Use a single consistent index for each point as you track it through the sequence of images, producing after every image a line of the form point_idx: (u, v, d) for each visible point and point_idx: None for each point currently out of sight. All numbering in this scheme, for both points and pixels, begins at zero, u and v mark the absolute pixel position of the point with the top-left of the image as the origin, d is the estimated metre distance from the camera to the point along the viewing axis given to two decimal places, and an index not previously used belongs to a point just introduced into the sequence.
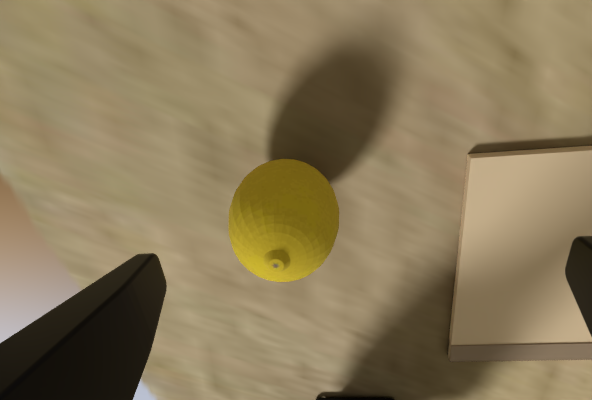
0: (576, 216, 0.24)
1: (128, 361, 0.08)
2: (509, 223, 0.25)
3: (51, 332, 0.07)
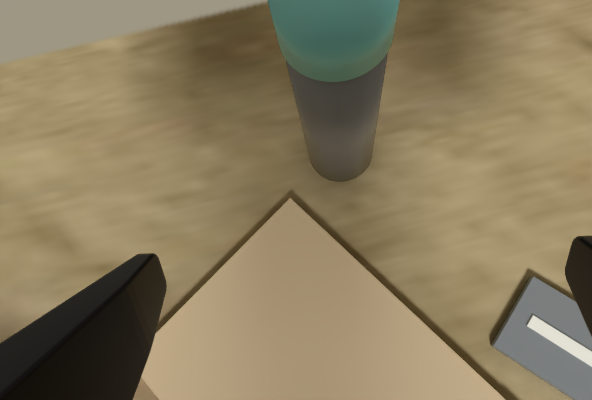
0: (266, 331, 0.21)
1: (128, 361, 0.08)
2: (219, 388, 0.21)
3: (51, 332, 0.07)
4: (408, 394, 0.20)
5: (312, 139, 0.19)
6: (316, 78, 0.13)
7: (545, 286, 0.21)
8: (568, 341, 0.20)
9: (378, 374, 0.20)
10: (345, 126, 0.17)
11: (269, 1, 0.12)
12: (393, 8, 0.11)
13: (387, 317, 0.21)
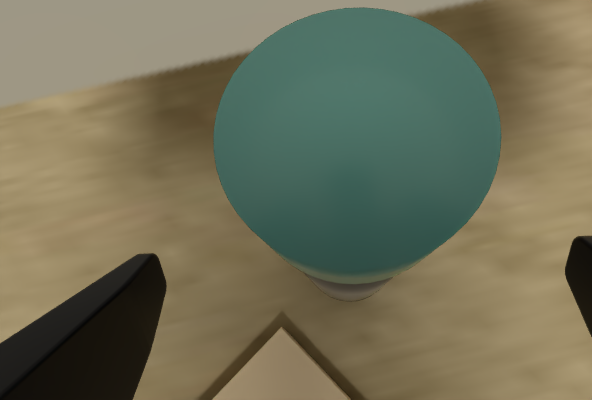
0: None
1: (128, 361, 0.08)
2: None
3: (51, 332, 0.07)
4: None
5: None
6: (318, 277, 0.07)
7: None
8: None
9: None
10: (362, 289, 0.11)
11: (220, 170, 0.06)
12: (482, 198, 0.05)
13: None
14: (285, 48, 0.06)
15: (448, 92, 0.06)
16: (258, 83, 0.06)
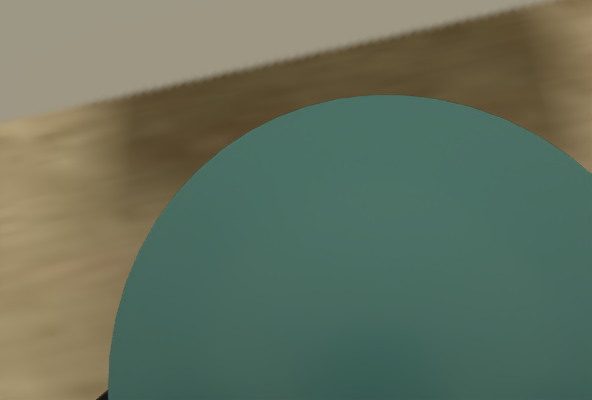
0: None
1: None
2: None
3: None
4: None
5: None
6: None
7: None
8: None
9: None
10: None
11: None
12: None
13: None
14: (254, 173, 0.03)
15: (584, 286, 0.03)
16: (199, 244, 0.03)
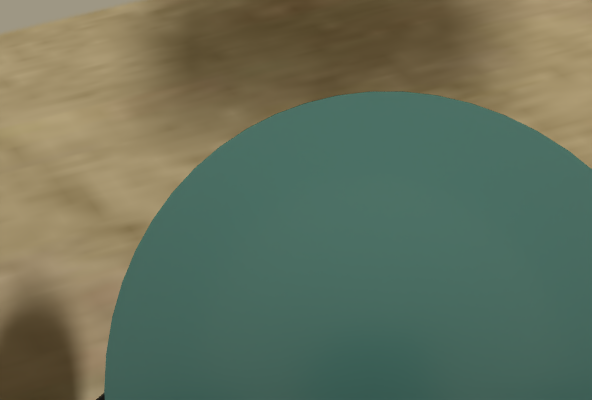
0: None
1: None
2: None
3: None
4: None
5: None
6: None
7: None
8: None
9: None
10: None
11: None
12: None
13: None
14: (252, 171, 0.03)
15: (587, 285, 0.03)
16: (198, 243, 0.03)
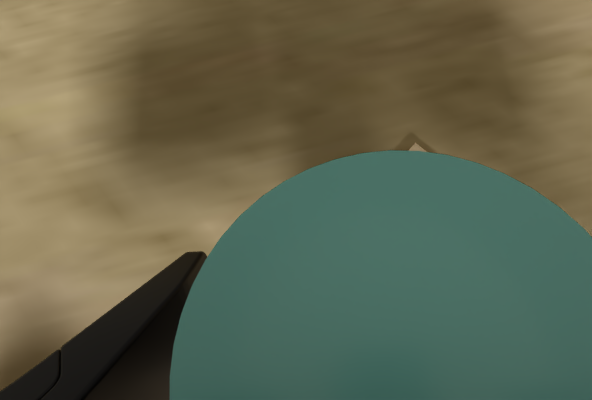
0: None
1: None
2: None
3: (118, 331, 0.07)
4: None
5: None
6: None
7: None
8: None
9: None
10: None
11: None
12: None
13: None
14: (290, 219, 0.04)
15: (571, 321, 0.03)
16: (244, 281, 0.04)
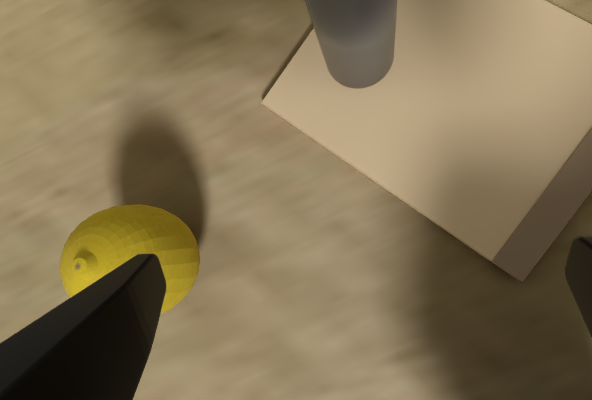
0: None
1: (128, 361, 0.08)
2: (352, 105, 0.22)
3: (51, 332, 0.07)
4: (541, 68, 0.20)
5: (328, 42, 0.18)
6: None
7: None
8: None
9: (508, 58, 0.21)
10: (363, 16, 0.15)
11: None
12: None
13: (509, 6, 0.21)
14: None
15: None
16: None
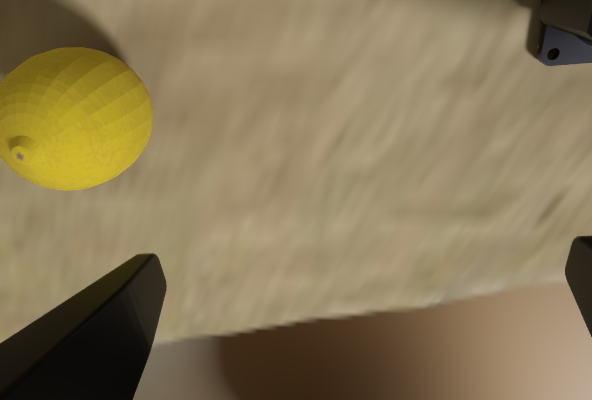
0: None
1: (128, 361, 0.08)
2: None
3: (51, 332, 0.07)
4: None
5: None
6: None
7: None
8: None
9: None
10: None
11: None
12: None
13: None
14: None
15: None
16: None
